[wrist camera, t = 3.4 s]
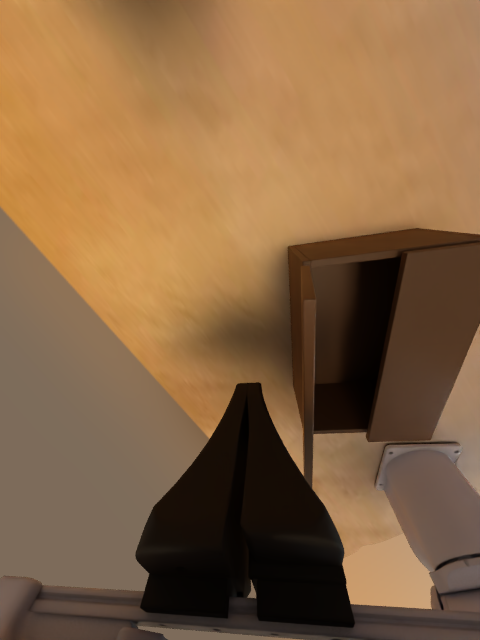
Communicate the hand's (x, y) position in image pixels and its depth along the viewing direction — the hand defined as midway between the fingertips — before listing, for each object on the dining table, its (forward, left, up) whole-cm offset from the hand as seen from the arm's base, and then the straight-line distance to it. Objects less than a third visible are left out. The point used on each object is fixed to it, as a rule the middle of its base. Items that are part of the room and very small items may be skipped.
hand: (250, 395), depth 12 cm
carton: (0, -8, -8) cm, 11 cm away
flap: (0, -3, +1) cm, 3 cm away
